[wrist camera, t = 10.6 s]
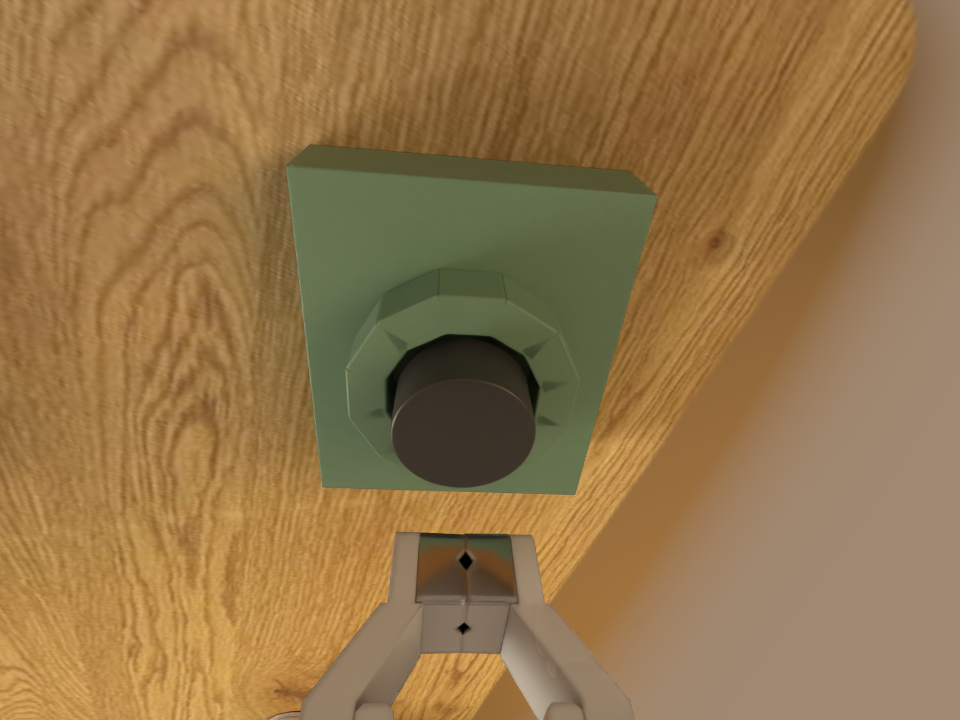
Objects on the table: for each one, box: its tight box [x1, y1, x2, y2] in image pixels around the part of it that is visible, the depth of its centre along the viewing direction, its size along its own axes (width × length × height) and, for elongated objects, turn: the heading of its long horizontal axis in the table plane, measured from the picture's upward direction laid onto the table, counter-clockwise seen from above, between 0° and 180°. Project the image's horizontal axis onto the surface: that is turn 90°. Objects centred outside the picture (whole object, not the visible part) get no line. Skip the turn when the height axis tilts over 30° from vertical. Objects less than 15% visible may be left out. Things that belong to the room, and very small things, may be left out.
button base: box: [286, 144, 657, 495], centre depth 17 cm, size 12×10×4 cm
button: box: [390, 339, 536, 488], centre depth 15 cm, size 4×4×2 cm
